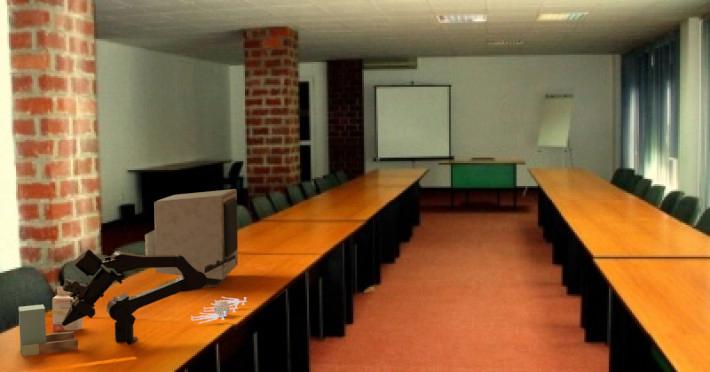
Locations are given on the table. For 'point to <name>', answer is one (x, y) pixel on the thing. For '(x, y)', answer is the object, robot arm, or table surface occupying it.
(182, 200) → the crt monitor
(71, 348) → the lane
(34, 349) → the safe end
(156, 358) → the table surface
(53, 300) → the ink cartridge box
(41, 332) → the block
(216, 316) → the molecule model
